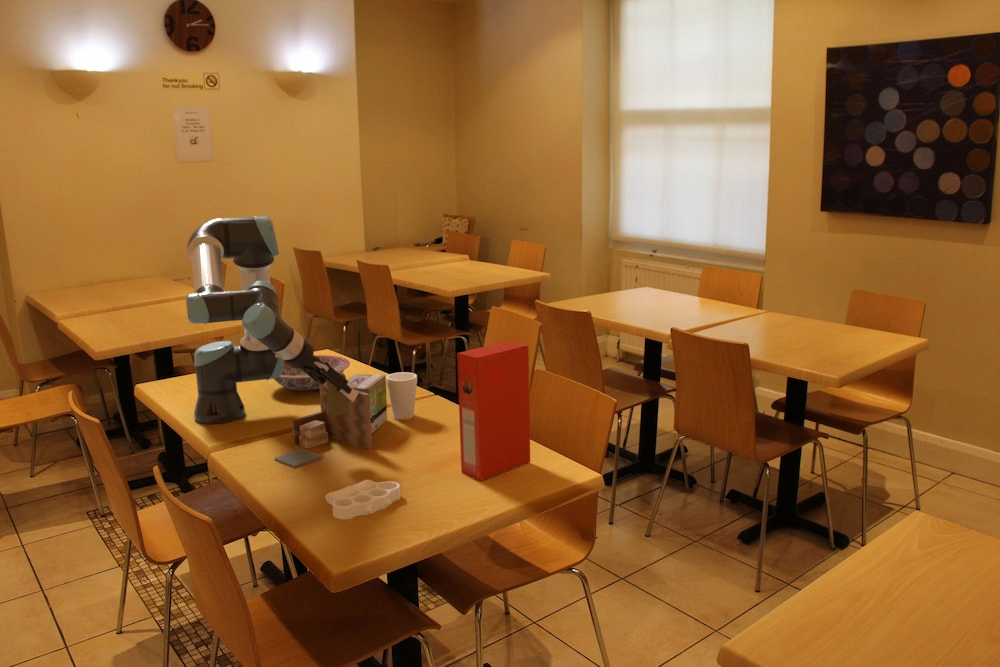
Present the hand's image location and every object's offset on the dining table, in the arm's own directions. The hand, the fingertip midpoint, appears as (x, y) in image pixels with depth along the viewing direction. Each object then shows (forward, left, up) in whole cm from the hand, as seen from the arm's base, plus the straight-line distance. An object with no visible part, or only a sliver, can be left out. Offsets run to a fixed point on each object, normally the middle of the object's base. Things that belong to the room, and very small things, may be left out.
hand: (348, 395), depth 225 cm
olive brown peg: (0, -4, -4) cm, 6 cm away
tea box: (-13, +15, -17) cm, 26 cm away
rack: (-7, -1, -16) cm, 18 cm away
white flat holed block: (+29, -20, -17) cm, 39 cm away
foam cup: (-11, +29, -17) cm, 35 cm away
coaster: (-7, -13, -16) cm, 22 cm away
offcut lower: (-14, -3, -17) cm, 22 cm away
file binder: (+39, +16, -17) cm, 45 cm away
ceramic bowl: (-61, +30, -17) cm, 70 cm away
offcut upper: (-13, -3, -14) cm, 19 cm away
